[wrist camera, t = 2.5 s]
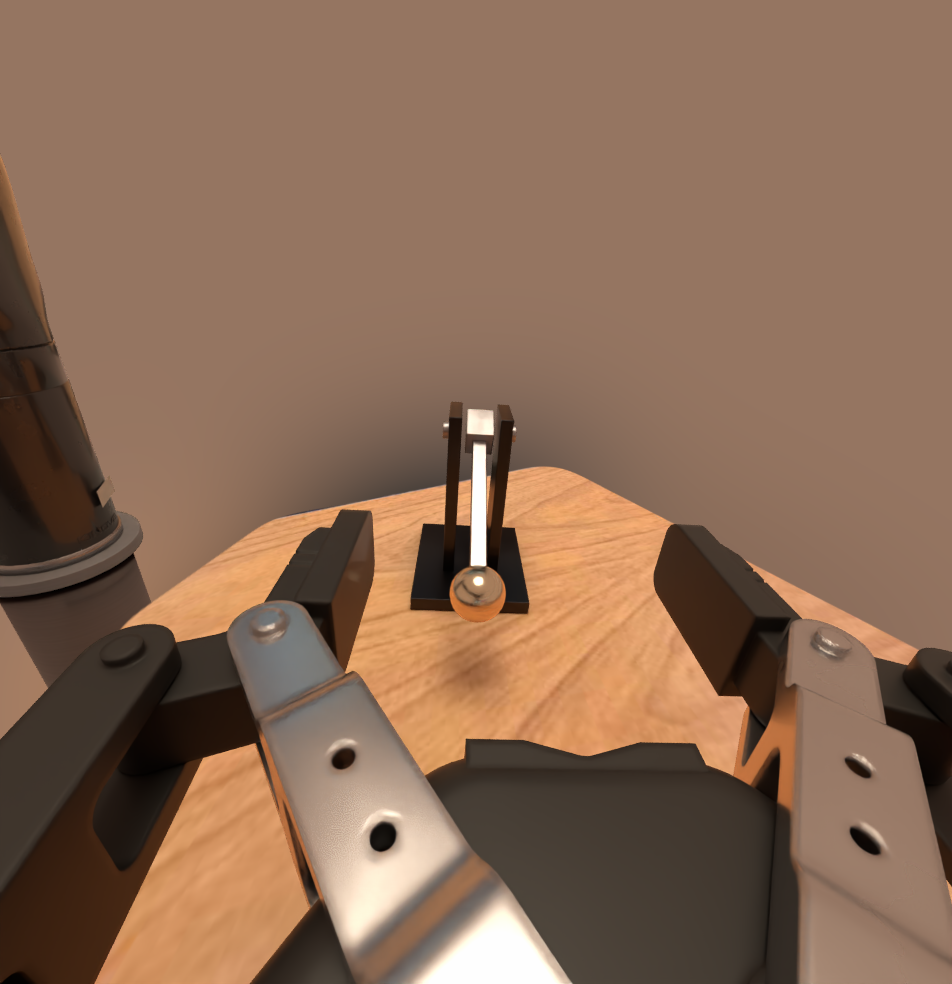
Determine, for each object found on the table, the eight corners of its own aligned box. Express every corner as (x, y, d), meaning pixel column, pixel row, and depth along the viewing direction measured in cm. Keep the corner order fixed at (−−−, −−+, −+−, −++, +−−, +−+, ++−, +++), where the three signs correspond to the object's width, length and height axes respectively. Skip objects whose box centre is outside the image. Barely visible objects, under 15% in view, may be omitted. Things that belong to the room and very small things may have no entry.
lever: (502, 631, 28) (510, 612, 25) (447, 629, 28) (448, 609, 25) (498, 435, 38) (503, 405, 35) (457, 432, 38) (459, 402, 35)
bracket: (527, 613, 37) (556, 439, 29) (410, 609, 36) (410, 431, 29) (513, 536, 47) (531, 395, 40) (423, 532, 47) (425, 388, 40)
